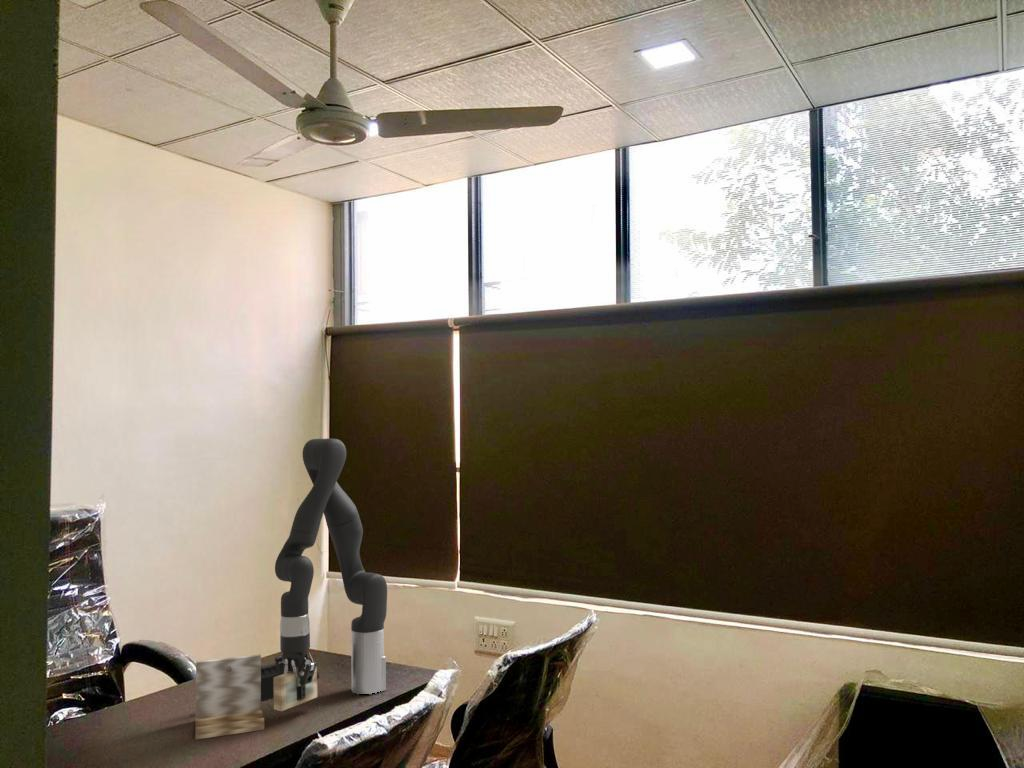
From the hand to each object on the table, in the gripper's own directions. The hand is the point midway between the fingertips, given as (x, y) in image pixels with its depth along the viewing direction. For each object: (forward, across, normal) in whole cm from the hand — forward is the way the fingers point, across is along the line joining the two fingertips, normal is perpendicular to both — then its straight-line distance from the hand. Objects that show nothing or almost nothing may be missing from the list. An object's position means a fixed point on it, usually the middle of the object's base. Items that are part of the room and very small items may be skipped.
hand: (296, 698), depth 207 cm
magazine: (+5, -19, +6) cm, 20 cm away
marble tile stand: (+4, -10, -13) cm, 17 cm away
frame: (+1, 0, 0) cm, 1 cm away
